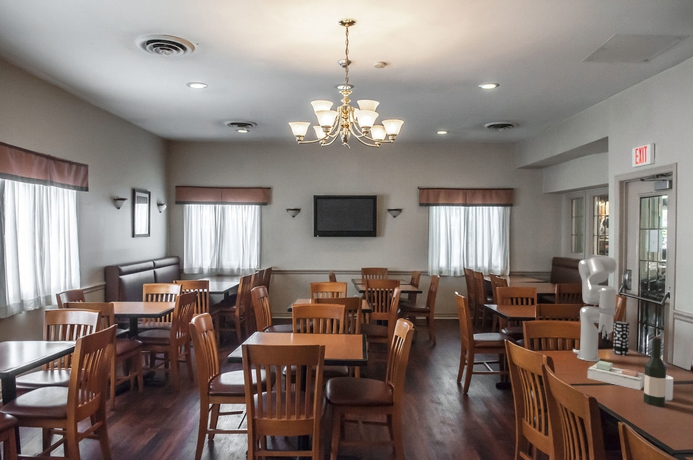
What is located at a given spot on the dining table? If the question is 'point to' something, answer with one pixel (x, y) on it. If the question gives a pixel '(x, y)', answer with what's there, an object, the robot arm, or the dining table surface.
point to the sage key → (604, 365)
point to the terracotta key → (630, 372)
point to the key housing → (616, 377)
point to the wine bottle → (655, 376)
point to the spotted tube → (621, 338)
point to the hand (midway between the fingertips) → (605, 346)
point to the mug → (669, 388)
